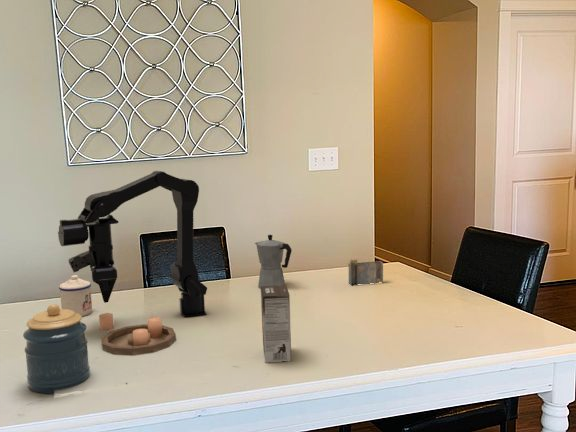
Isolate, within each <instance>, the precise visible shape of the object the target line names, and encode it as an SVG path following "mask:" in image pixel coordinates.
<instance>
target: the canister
mask: <svg viewBox="0 0 576 432" xmlns="http://www.w3.org/2000/svg"><path fill="white" fill-rule="evenodd" d="M46 309H47V310H44V311H41V312H39V313H36V314H35V315H33V317H31V318H30V319H28V320H27V321H26V326H27V329H26V330H24V332H23V334H22V337H23V338H24V339H25V341H26V346H25V347H24V353H25V359H26V360H25V361H26V370H27V372H26V373H27V375H26V381H27V383H28V387H29V389H30V390H31V391H33V392H36V393H42V394H54V393H55V391H58V390H59V391H60V390H64V389H68V388H72V387H75V386H78V385H80V384H82V383H84V382H85V381H86V380H87V379H89V377H90V373H91V369H90V368H91V367H90V365H89V363H90V362H89V351H88V338H86V336H85V332H86V330H87V325H86V323H84V322H82V321H81V320H82V319H83V316H81V315H80V314H78V313H75V312H74V311H72V310H68V309H62V308H60V306H59V305H58V304H56V303H51V304H49V305H48V306H47V308H46Z"/></svg>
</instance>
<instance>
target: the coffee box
mask: <svg viewBox="0 0 576 432" xmlns="http://www.w3.org/2000/svg"><path fill="white" fill-rule="evenodd" d="M290 297H291V296H290V293H289V290H288V286H287V285H286V284H285V285H284V286H261V289H260V300H261V301H260V302H261V303H260V304H261V307H260V308H261V329H262V330H261V333H262V344H263V345H262V346H263V355H264V356H263V357H264V363H266V364H267V363H268V364H269V362H270V363H283V362H282V361H288V362H291V361H292V341H291V340H292V337H291V334H292V333H291V331H292V330H291V302H290V301H291V299H290Z"/></svg>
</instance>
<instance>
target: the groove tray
mask: <svg viewBox="0 0 576 432" xmlns="http://www.w3.org/2000/svg"><path fill="white" fill-rule="evenodd" d="M136 329H147V330H148V323H147V324H136V325H127V326H124V327H120V328H117V329H112V330H111V331H110V330H109V331H108V332H107V333H105V334H104V335H103V336H102V337H101V346H102V347H101V348H102V351H104V352H105V353H110V354H112V355H117V356H118V355H119V356H120V355H121V356H137V355H144V354H150V353H151V354H153V353H155V352H158V351H161V350H164V349H167V348H169V347H171V346H172V344H174V343H175V342H176V341H177V335H176V332H175V330H174V328H172V327H170V326H167V325H163V324H162V337H160V338H150V333H149V332H148V343H149V345H141V346H134V343H133V331H134V330H136Z"/></svg>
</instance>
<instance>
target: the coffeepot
mask: <svg viewBox="0 0 576 432" xmlns="http://www.w3.org/2000/svg"><path fill="white" fill-rule="evenodd" d="M254 245H256V250H257V256H258V261H259V263H260V266H261V267H260V269H259V277H258V284H257V285H258V286H257V287H258V289H260V290H261V286H284V285H286V282H285V276H284V272H283V269H287V268H288V265H289V263H290V259H291V255H292V251H293V249H292V247H291V246H290V245H289V243H285V242H283V241H280V240H273V235H272V234H267V240H262V241H256V242H255V243H254ZM284 250H286V253H285V259H284ZM283 259H284V264H282V262H283Z"/></svg>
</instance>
